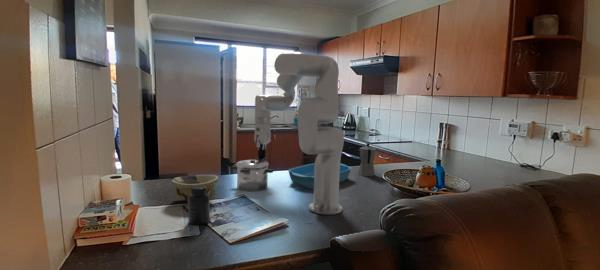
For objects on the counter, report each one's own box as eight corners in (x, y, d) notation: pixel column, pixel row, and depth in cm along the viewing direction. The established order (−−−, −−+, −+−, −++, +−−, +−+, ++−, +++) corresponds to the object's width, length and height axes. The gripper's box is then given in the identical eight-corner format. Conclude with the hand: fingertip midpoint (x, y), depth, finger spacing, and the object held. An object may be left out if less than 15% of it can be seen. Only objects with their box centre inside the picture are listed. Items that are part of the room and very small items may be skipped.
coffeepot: (357, 171, 191) (358, 141, 189) (373, 172, 190) (375, 141, 188) (359, 178, 176) (361, 145, 174) (377, 178, 175) (379, 145, 173)
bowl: (226, 196, 137) (226, 174, 136) (202, 210, 120) (202, 185, 118) (189, 192, 141) (189, 170, 140) (161, 205, 124) (161, 180, 123)
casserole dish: (315, 194, 145) (316, 178, 144) (279, 184, 160) (279, 170, 159) (357, 179, 173) (358, 166, 172) (323, 172, 188) (324, 160, 187)
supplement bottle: (202, 216, 114) (201, 183, 113) (213, 221, 110) (213, 186, 108) (184, 221, 109) (183, 186, 107) (195, 227, 104) (195, 191, 103)
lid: (260, 170, 142) (260, 165, 142) (230, 167, 147) (230, 162, 146) (277, 161, 161) (277, 156, 161) (250, 158, 166) (250, 154, 165)
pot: (264, 194, 142) (264, 171, 141) (224, 189, 148) (224, 167, 146) (277, 185, 156) (277, 165, 155) (240, 181, 162) (240, 161, 161)
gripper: (263, 122, 151) (262, 160, 153) (275, 120, 165) (274, 155, 167) (248, 121, 153) (248, 159, 155) (261, 119, 167) (261, 154, 170)
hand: (261, 157), depth 161 cm, fingers closed
